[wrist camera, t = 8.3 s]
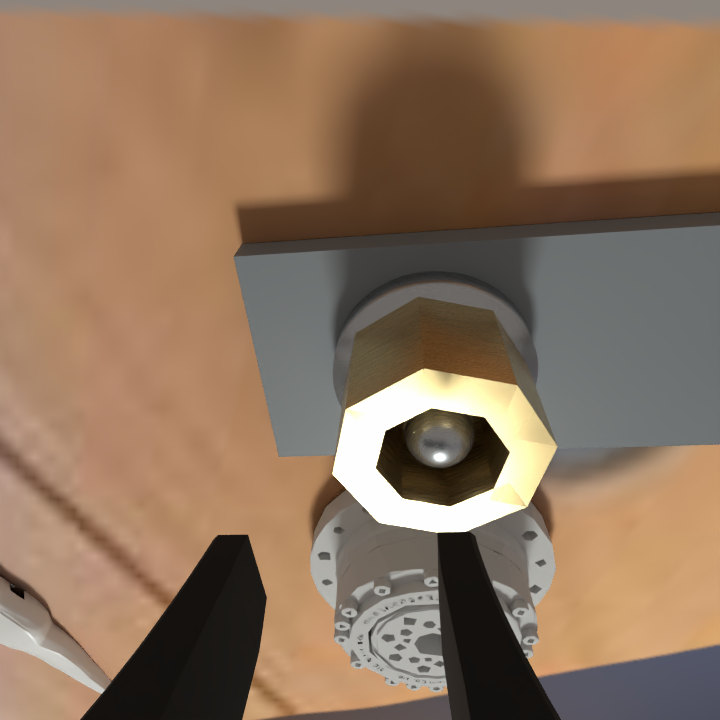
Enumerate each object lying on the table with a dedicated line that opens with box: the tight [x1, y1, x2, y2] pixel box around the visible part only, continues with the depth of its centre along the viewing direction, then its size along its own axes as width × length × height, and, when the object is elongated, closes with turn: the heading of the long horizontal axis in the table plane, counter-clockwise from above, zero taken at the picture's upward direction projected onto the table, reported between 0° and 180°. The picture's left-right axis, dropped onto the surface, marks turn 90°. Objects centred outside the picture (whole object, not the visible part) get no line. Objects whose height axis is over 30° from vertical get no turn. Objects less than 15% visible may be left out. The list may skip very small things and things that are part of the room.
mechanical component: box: [310, 489, 556, 692], centre depth 22 cm, size 10×4×10 cm
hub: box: [332, 271, 538, 468], centre depth 15 cm, size 6×6×4 cm
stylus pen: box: [0, 576, 111, 694], centre depth 28 cm, size 15×3×2 cm, turn 19°
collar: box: [332, 297, 558, 532], centre depth 14 cm, size 5×5×4 cm
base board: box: [234, 212, 720, 457], centre depth 17 cm, size 20×8×1 cm, turn 95°
